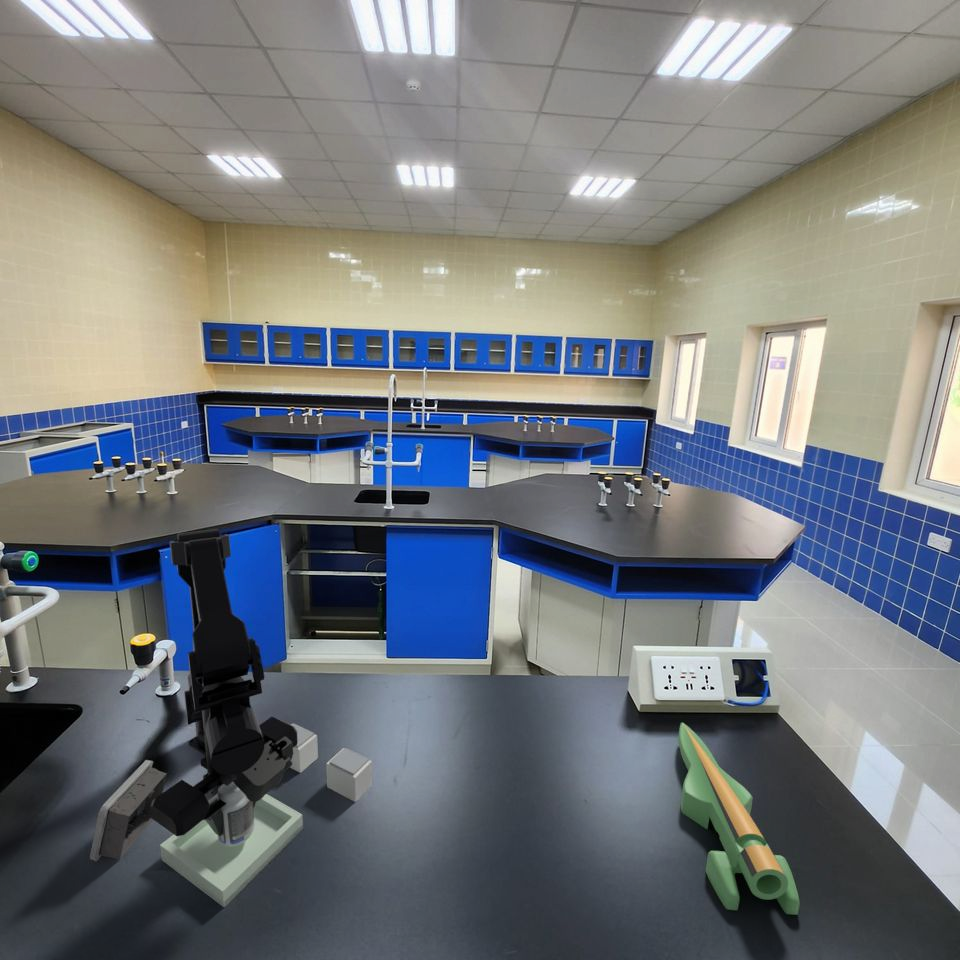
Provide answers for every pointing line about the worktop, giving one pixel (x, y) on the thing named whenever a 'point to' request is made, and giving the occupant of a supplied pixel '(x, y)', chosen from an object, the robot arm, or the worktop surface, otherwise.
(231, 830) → the pill bottle
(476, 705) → the worktop surface
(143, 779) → the electrical switch
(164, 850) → the tray
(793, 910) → the green toy rocket
